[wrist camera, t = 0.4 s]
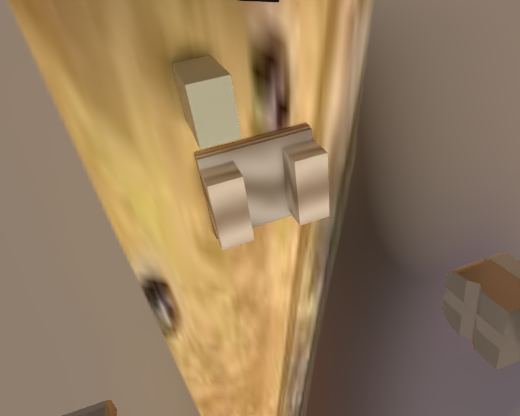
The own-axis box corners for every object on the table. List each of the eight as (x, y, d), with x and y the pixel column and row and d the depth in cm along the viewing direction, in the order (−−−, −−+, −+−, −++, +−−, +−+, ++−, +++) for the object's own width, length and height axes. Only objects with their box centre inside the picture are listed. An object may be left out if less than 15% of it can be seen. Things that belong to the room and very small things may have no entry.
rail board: (194, 152, 44) (204, 174, 40) (306, 123, 47) (327, 140, 43) (214, 233, 51) (224, 259, 47) (311, 203, 54) (329, 225, 50)
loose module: (171, 63, 39) (184, 85, 32) (210, 55, 39) (230, 74, 33) (186, 122, 42) (201, 151, 36) (221, 113, 43) (242, 140, 37)
